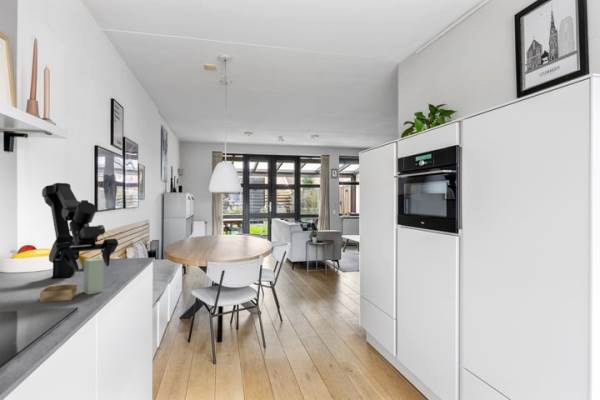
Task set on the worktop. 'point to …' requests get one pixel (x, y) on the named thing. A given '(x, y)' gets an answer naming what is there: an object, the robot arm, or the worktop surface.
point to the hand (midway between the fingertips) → (93, 267)
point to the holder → (58, 292)
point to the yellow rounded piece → (82, 260)
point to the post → (93, 275)
